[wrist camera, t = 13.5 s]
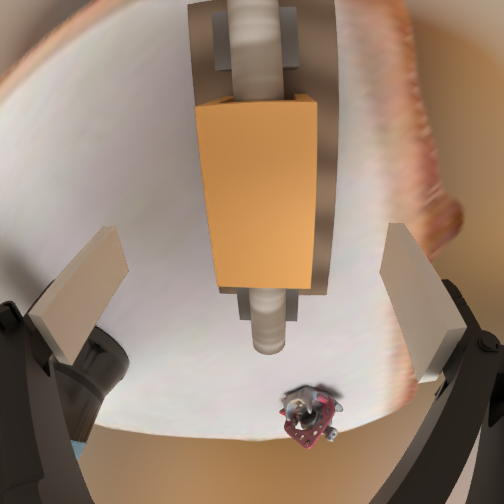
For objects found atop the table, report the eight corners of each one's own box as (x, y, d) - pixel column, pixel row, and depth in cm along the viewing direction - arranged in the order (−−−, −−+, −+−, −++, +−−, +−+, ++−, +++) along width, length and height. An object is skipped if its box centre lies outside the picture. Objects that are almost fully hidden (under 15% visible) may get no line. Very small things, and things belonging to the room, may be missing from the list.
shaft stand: (324, 283, 35) (333, 355, 26) (222, 282, 36) (203, 351, 27) (330, 2, 18) (355, -37, 10) (194, 9, 20) (145, -21, 11)
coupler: (305, 225, 28) (310, 288, 20) (237, 224, 29) (217, 286, 21) (306, 93, 21) (317, 102, 14) (227, 96, 22) (194, 107, 15)
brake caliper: (310, 383, 42) (338, 446, 37) (337, 371, 50) (361, 424, 45) (260, 404, 47) (284, 460, 42) (292, 392, 55) (313, 440, 50)
